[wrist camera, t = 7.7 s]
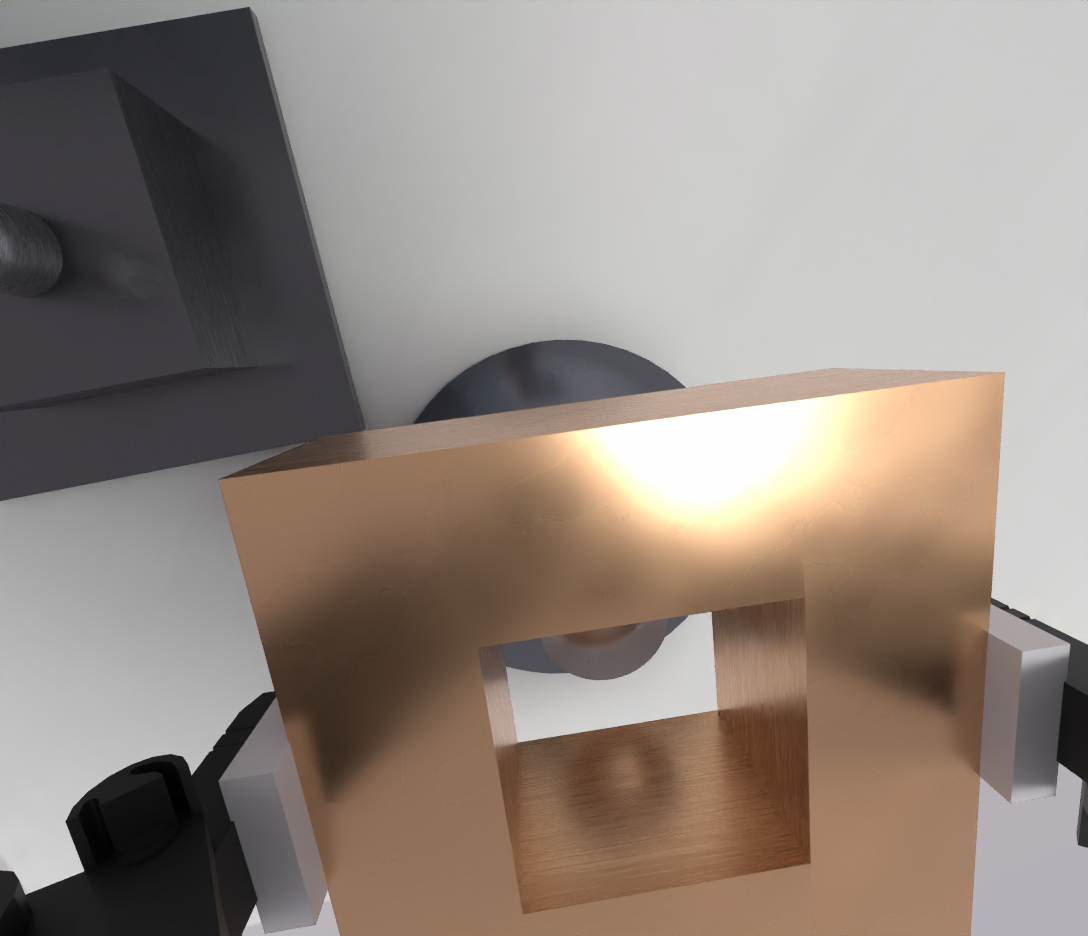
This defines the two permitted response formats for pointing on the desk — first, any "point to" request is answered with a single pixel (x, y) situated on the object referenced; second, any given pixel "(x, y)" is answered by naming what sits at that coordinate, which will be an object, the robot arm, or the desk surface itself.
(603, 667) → the hub
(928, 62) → the desk surface
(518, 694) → the desk surface
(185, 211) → the stand
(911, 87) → the desk surface
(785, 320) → the desk surface
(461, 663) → the brown square ring block
